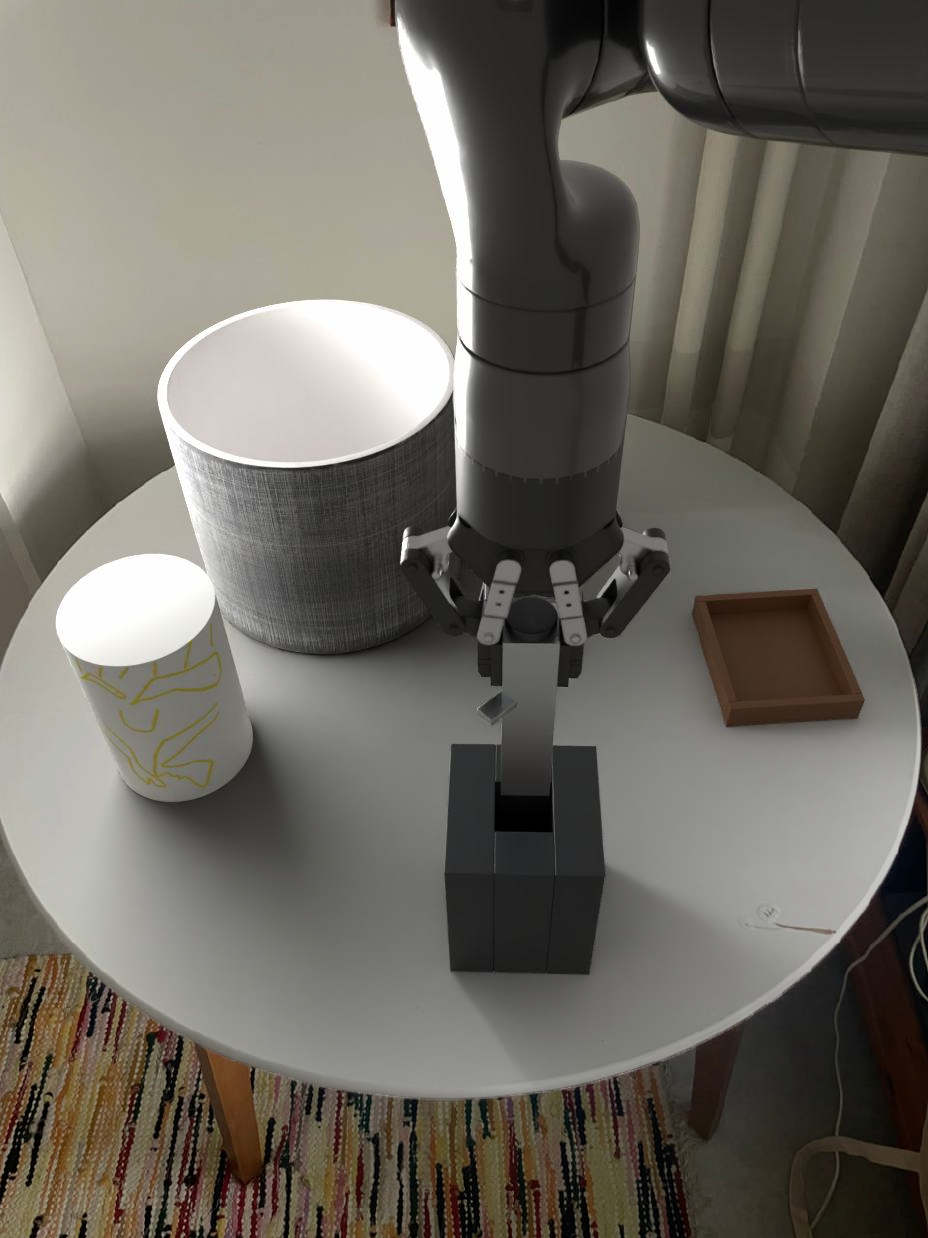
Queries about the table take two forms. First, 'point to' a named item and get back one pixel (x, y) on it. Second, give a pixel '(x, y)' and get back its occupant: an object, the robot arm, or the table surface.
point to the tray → (775, 658)
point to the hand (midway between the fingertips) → (529, 674)
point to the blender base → (523, 865)
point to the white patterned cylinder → (158, 674)
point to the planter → (314, 466)
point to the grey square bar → (527, 696)
